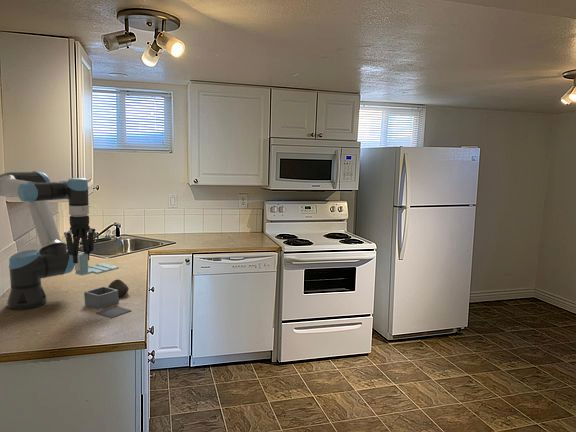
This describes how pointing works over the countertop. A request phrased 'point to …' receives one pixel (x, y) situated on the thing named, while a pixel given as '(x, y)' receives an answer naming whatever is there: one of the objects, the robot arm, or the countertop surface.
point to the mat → (113, 311)
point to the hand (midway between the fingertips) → (81, 269)
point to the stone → (119, 287)
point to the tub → (101, 297)
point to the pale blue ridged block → (92, 269)
